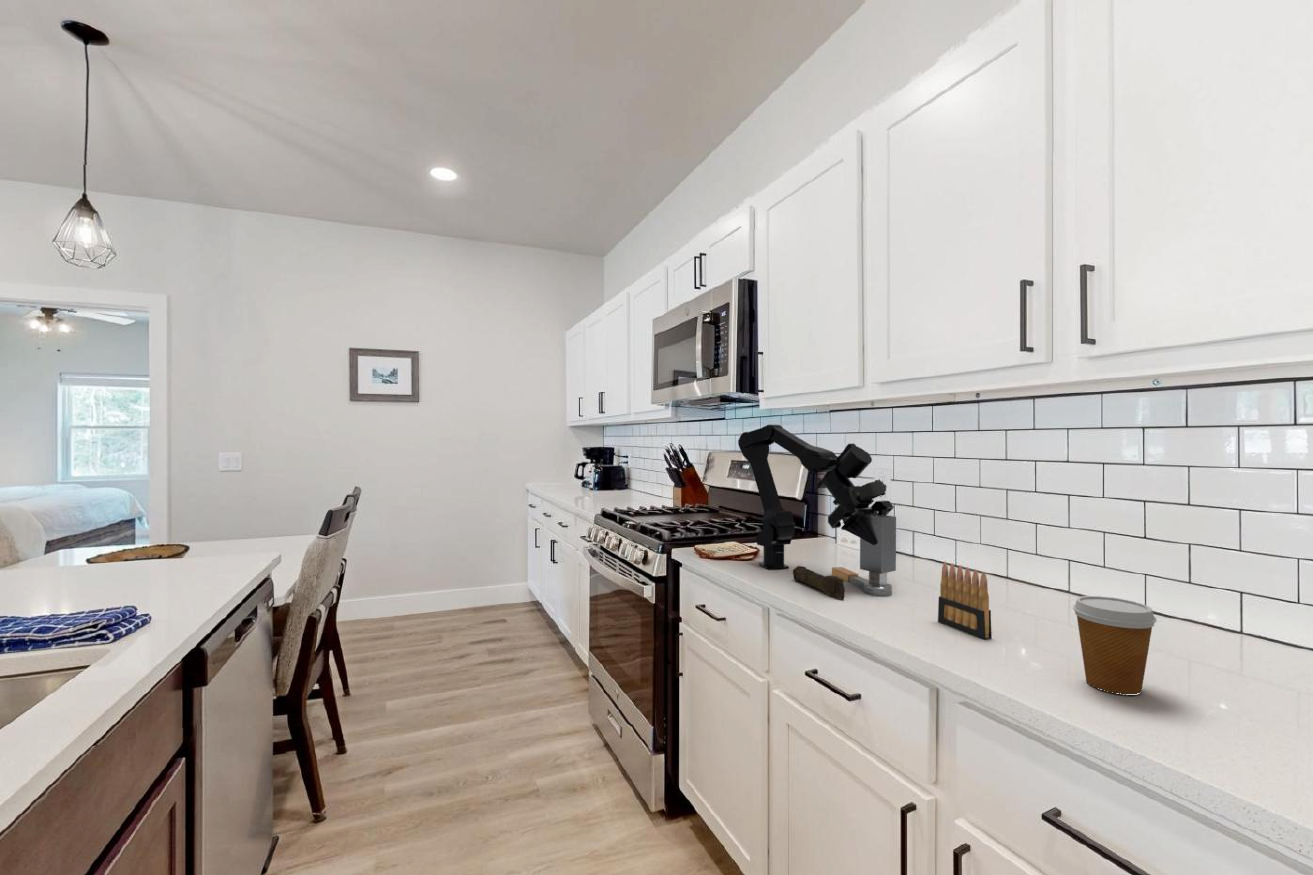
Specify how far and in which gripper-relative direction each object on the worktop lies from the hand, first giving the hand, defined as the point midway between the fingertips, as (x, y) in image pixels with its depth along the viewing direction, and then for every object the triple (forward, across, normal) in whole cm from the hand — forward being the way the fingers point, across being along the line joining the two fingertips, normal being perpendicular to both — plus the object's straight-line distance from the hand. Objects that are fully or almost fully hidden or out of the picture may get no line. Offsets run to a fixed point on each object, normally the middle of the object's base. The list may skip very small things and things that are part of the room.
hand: (883, 542), depth 133 cm
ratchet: (+2, +3, +15) cm, 15 cm away
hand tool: (+1, -8, +16) cm, 18 cm away
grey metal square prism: (+4, 0, +6) cm, 7 cm away
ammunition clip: (+25, -10, -8) cm, 28 cm away
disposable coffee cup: (+43, -17, -26) cm, 53 cm away
